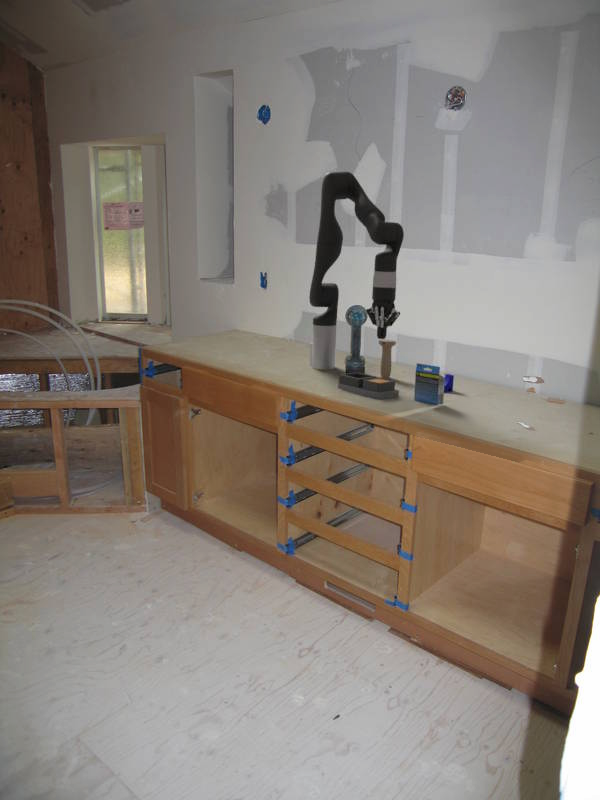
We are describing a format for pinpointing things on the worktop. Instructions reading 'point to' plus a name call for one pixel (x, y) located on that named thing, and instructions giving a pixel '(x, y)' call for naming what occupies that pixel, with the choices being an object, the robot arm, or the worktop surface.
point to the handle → (386, 357)
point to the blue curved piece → (448, 383)
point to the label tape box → (429, 384)
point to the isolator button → (378, 380)
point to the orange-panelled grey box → (367, 385)
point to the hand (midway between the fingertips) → (381, 338)
